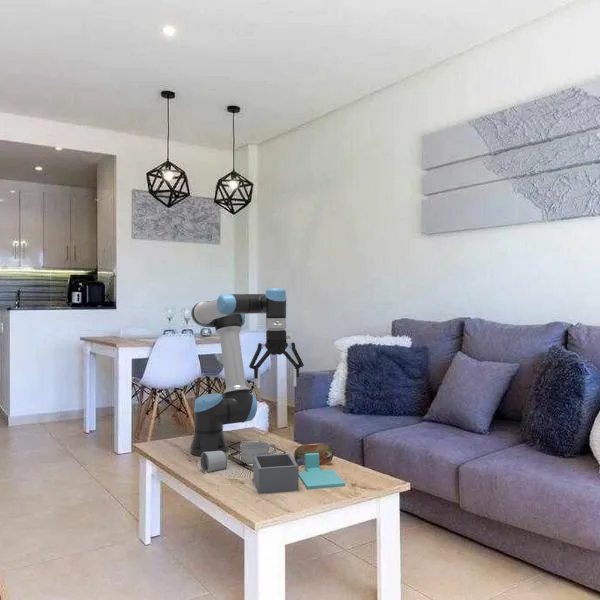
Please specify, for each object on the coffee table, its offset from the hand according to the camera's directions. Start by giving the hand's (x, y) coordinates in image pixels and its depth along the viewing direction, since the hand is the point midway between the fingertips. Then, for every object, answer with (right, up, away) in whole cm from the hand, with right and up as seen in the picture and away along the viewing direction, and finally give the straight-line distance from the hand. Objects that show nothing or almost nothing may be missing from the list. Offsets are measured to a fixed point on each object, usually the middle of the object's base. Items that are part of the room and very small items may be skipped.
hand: (276, 386), depth 204 cm
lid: (+15, -31, -13) cm, 37 cm away
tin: (+14, -31, +4) cm, 34 cm away
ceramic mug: (-24, -31, -1) cm, 39 cm away
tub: (0, -31, -20) cm, 37 cm away
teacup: (-7, -31, +7) cm, 33 cm away
